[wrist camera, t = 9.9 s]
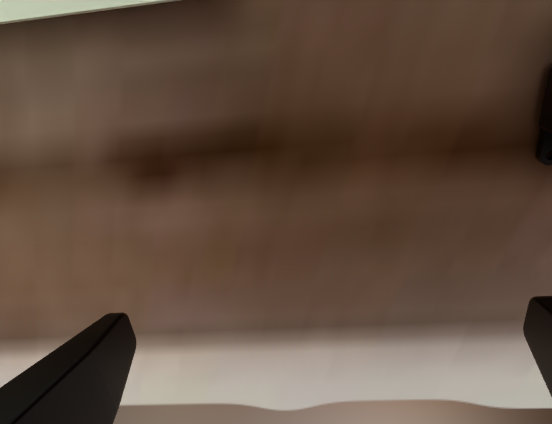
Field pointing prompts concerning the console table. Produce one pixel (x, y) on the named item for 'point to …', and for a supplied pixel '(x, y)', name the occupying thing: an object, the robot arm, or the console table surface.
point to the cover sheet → (61, 8)
